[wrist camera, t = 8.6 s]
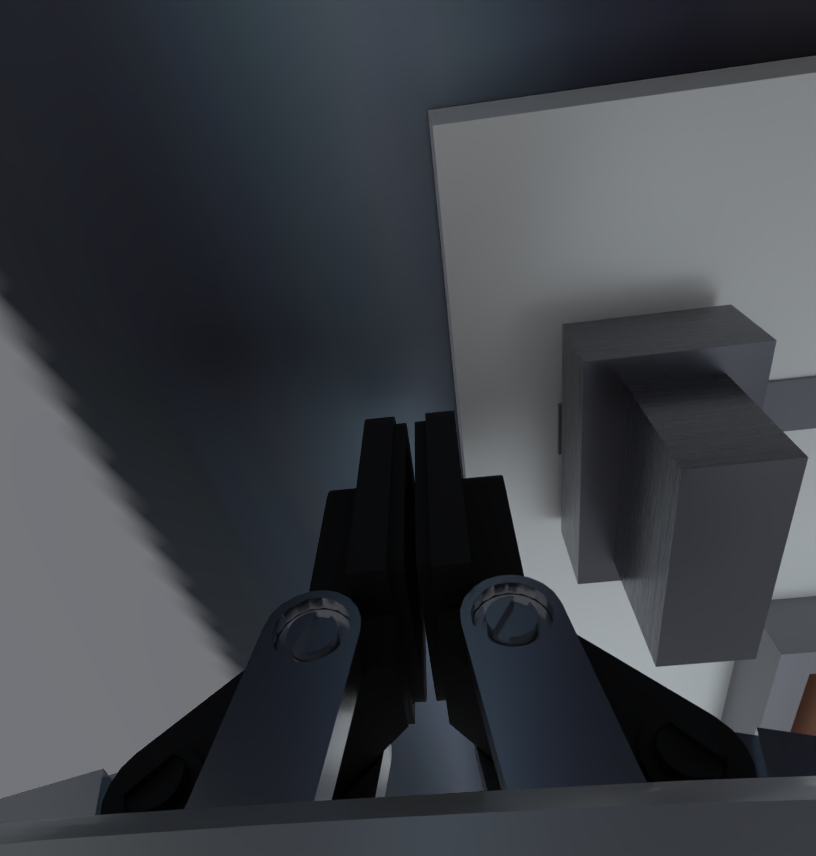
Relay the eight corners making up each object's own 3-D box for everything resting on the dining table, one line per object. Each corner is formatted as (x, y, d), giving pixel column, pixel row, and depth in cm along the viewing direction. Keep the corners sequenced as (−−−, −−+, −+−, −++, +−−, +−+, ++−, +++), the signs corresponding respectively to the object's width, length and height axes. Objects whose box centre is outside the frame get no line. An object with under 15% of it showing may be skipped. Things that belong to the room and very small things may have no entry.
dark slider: (731, 304, 11) (875, 418, 8) (697, 518, 14) (793, 674, 10) (562, 324, 11) (629, 443, 8) (561, 531, 14) (610, 688, 10)
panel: (1171, 5, 12) (1567, -19, 8) (817, 823, 27) (886, 954, 23) (427, 110, 12) (436, 138, 9) (499, 842, 28) (513, 972, 24)
